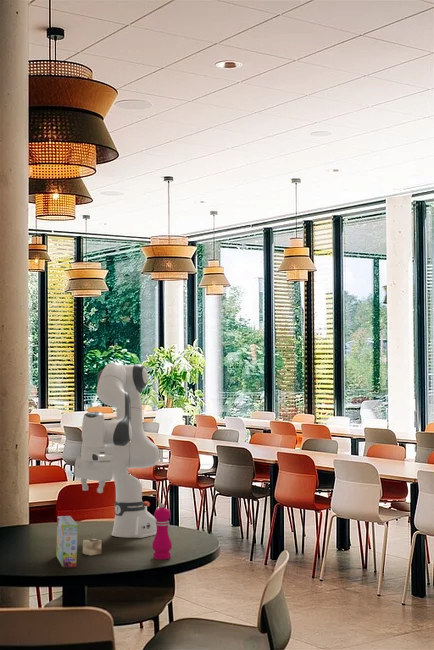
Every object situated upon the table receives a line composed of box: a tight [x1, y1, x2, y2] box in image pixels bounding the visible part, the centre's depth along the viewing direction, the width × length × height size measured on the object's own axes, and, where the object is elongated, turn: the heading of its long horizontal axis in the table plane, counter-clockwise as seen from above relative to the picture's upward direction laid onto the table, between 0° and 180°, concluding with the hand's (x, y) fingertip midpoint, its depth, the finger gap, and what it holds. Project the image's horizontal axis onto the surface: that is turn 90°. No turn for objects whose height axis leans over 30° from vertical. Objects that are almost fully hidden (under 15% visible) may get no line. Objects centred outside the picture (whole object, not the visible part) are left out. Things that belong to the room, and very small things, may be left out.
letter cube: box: [82, 538, 102, 556], centre depth 345 cm, size 5×5×5 cm
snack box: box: [55, 515, 79, 568], centre depth 331 cm, size 21×6×15 cm, turn 17°
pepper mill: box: [151, 503, 173, 560], centre depth 338 cm, size 7×7×20 cm
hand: (92, 491), depth 347 cm, fingers open, 8 cm apart
